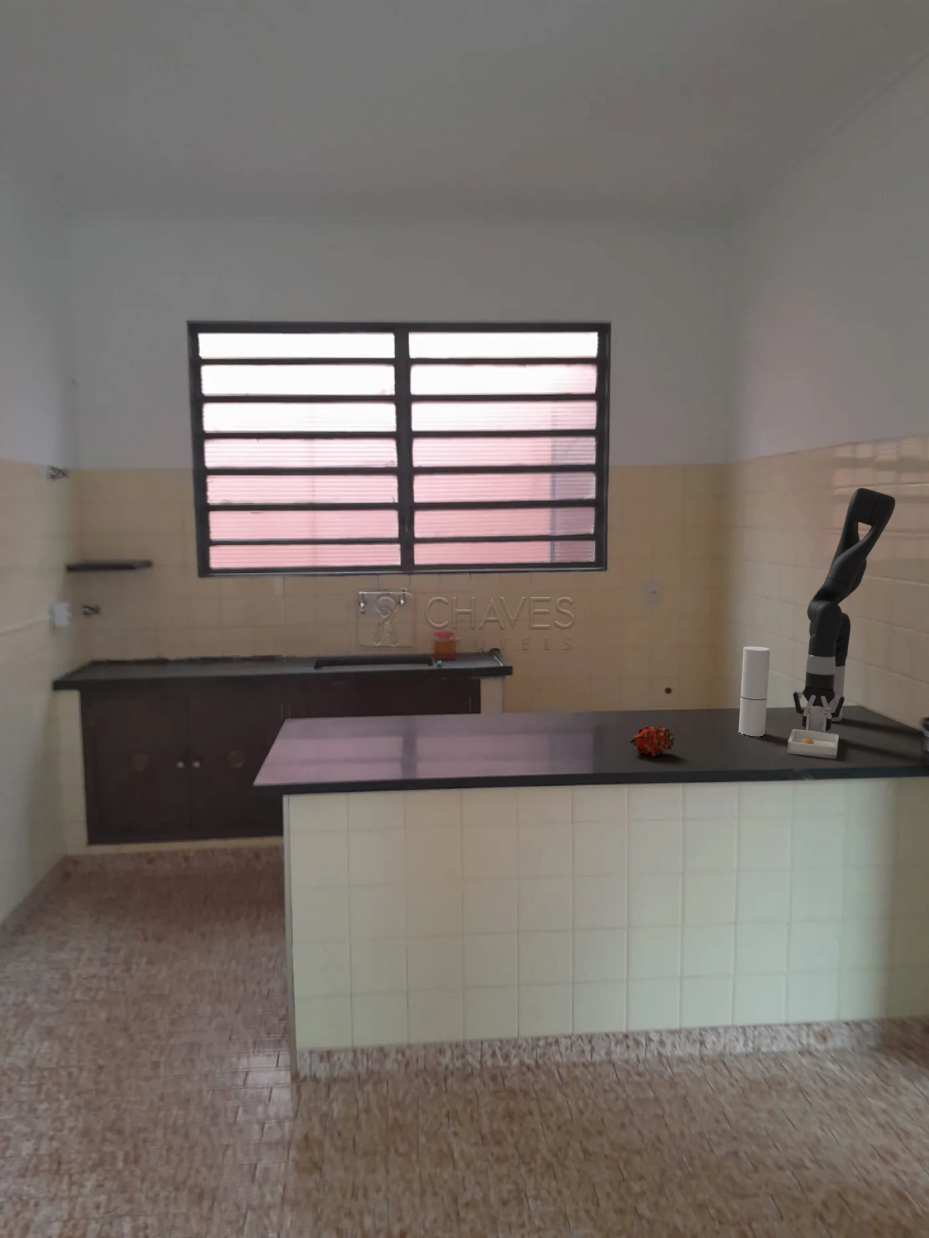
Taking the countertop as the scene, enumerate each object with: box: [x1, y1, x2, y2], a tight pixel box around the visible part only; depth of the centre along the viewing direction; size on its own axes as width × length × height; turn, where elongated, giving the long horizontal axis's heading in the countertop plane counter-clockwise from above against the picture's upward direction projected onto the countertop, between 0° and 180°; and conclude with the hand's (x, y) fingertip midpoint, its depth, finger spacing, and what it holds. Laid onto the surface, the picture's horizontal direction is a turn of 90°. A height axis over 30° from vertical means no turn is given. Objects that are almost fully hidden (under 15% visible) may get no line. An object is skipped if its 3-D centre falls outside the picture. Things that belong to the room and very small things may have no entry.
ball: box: [802, 738, 814, 744], centre depth 230 cm, size 3×3×3 cm
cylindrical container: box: [738, 645, 771, 737], centre depth 248 cm, size 7×7×25 cm
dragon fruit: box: [629, 724, 675, 757], centre depth 227 cm, size 8×8×12 cm
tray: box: [786, 728, 840, 760], centre depth 234 cm, size 15×12×3 cm
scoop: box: [805, 708, 827, 733], centre depth 246 cm, size 8×5×6 cm, turn 155°
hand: (816, 729), depth 246 cm, fingers closed on scoop, 5 cm apart
